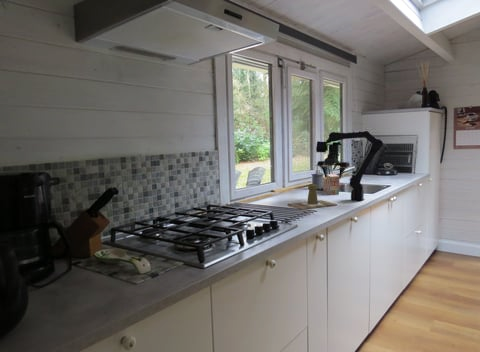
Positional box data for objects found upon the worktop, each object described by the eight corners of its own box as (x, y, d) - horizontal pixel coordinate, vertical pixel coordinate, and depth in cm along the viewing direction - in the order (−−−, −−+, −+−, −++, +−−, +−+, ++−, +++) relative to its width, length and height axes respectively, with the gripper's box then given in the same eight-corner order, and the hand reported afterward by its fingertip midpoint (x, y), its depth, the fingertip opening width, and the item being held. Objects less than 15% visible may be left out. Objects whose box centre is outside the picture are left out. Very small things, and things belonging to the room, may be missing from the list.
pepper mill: (308, 204, 206) (308, 185, 204) (306, 202, 212) (306, 183, 210) (319, 204, 206) (319, 184, 204) (316, 202, 212) (316, 183, 210)
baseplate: (321, 201, 220) (321, 199, 220) (337, 205, 208) (337, 203, 208) (287, 205, 209) (287, 203, 209) (302, 209, 197) (302, 207, 197)
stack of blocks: (322, 189, 266) (322, 172, 264) (331, 189, 266) (331, 172, 264) (329, 194, 245) (330, 176, 243) (339, 194, 245) (339, 176, 243)
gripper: (313, 152, 225) (313, 178, 227) (342, 153, 213) (342, 180, 215) (321, 151, 234) (321, 176, 235) (350, 152, 222) (349, 178, 224)
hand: (332, 178), depth 227 cm, fingers open, 9 cm apart
